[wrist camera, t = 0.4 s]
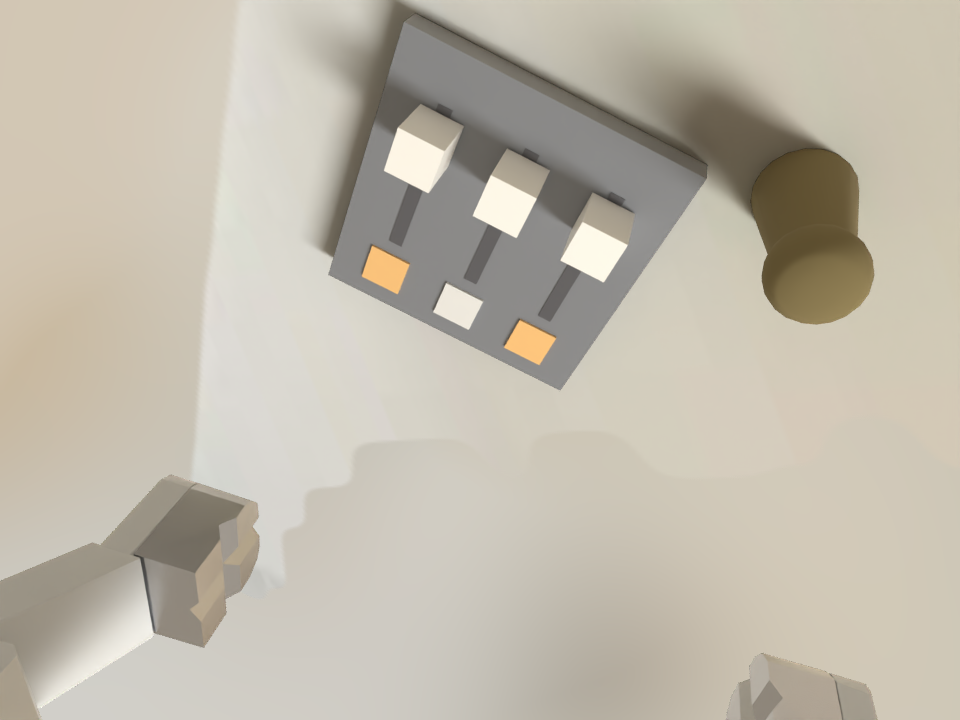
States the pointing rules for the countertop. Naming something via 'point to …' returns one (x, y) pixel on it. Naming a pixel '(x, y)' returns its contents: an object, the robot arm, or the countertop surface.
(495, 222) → the switch middle
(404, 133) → the cream slider knob
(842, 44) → the countertop surface
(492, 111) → the switch panel
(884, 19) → the countertop surface
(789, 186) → the cork
